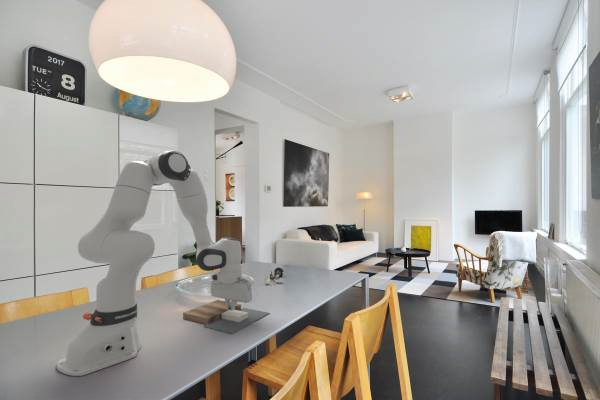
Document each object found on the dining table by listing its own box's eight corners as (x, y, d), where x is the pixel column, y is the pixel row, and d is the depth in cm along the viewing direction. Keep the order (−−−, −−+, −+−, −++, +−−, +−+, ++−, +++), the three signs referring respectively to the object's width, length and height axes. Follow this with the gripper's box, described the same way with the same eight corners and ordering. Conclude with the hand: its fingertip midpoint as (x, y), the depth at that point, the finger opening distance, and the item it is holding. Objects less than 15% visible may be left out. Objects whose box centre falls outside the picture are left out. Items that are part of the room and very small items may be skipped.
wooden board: (207, 325, 123) (207, 318, 124) (183, 318, 130) (183, 312, 130) (241, 309, 141) (241, 304, 141) (217, 305, 148) (217, 299, 148)
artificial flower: (286, 279, 204) (289, 265, 202) (272, 293, 182) (275, 277, 180) (273, 274, 206) (276, 260, 204) (258, 287, 185) (261, 272, 183)
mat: (231, 334, 115) (231, 332, 115) (204, 326, 122) (204, 325, 122) (269, 313, 136) (269, 312, 136) (243, 308, 143) (243, 307, 143)
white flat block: (238, 322, 125) (238, 317, 125) (221, 318, 130) (221, 313, 130) (248, 317, 131) (248, 312, 131) (231, 313, 135) (231, 309, 135)
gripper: (255, 277, 128) (255, 312, 128) (219, 272, 139) (219, 304, 139) (245, 281, 123) (245, 316, 123) (208, 275, 133) (208, 308, 133)
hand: (231, 309), depth 131 cm, fingers closed
